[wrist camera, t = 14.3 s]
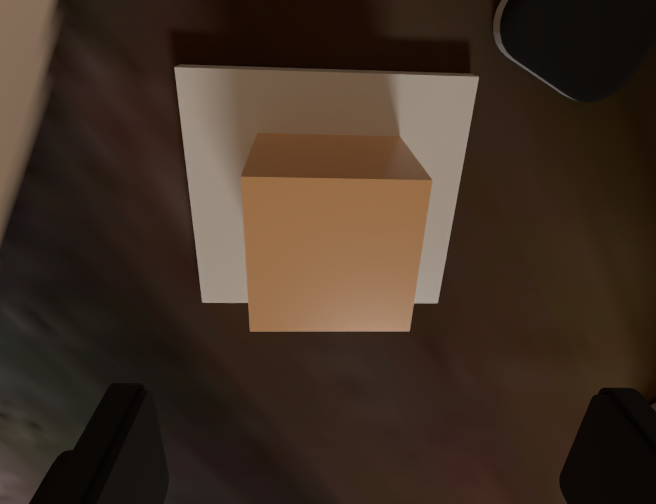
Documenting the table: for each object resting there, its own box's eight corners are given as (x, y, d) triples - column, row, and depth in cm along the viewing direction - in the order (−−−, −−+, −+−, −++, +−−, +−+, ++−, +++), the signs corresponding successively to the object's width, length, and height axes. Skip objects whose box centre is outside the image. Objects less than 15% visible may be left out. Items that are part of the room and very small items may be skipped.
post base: (471, 73, 19) (522, 93, 14) (432, 292, 24) (462, 357, 20) (180, 64, 18) (140, 82, 14) (206, 291, 23) (182, 358, 19)
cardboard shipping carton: (400, 136, 19) (432, 180, 14) (386, 260, 22) (409, 331, 17) (257, 133, 19) (240, 176, 14) (262, 258, 22) (249, 331, 17)
